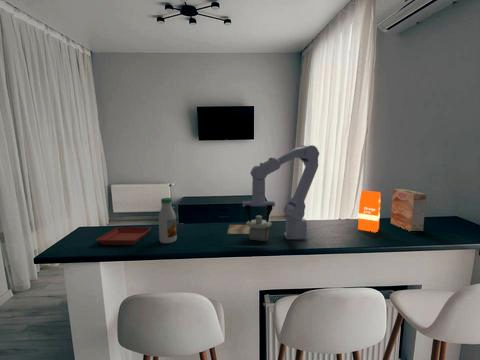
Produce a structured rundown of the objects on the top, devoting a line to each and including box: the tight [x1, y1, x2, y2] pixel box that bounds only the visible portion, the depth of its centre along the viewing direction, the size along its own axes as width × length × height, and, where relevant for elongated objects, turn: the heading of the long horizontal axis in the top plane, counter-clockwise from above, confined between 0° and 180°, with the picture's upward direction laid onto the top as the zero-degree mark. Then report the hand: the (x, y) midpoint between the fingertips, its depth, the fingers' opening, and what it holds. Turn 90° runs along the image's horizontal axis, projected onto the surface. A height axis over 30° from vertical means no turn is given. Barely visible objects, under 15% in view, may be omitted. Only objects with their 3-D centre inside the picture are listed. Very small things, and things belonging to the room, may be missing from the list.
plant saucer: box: [96, 226, 152, 246], centre depth 120 cm, size 18×18×3 cm
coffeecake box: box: [390, 188, 427, 232], centre depth 133 cm, size 15×7×20 cm, turn 6°
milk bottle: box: [158, 197, 178, 244], centre depth 116 cm, size 8×8×20 cm
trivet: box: [227, 224, 250, 235], centre depth 130 cm, size 14×14×1 cm
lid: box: [245, 215, 272, 228], centre depth 116 cm, size 12×12×4 cm
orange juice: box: [357, 190, 381, 233], centre depth 131 cm, size 8×9×20 cm
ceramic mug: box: [248, 227, 270, 242], centre depth 118 cm, size 11×8×8 cm
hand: (258, 221), depth 116 cm, fingers open, 7 cm apart
